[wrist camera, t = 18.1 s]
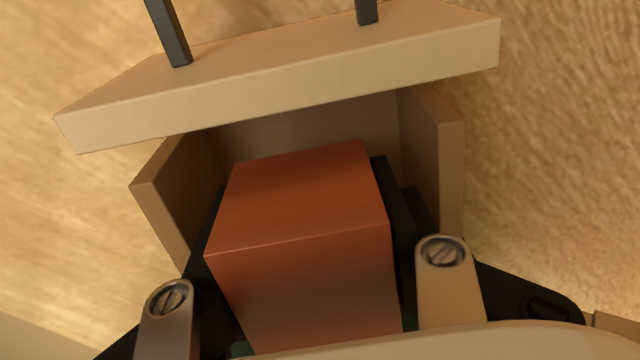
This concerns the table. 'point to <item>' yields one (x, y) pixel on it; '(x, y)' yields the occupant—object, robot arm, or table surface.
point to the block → (306, 250)
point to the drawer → (291, 105)
